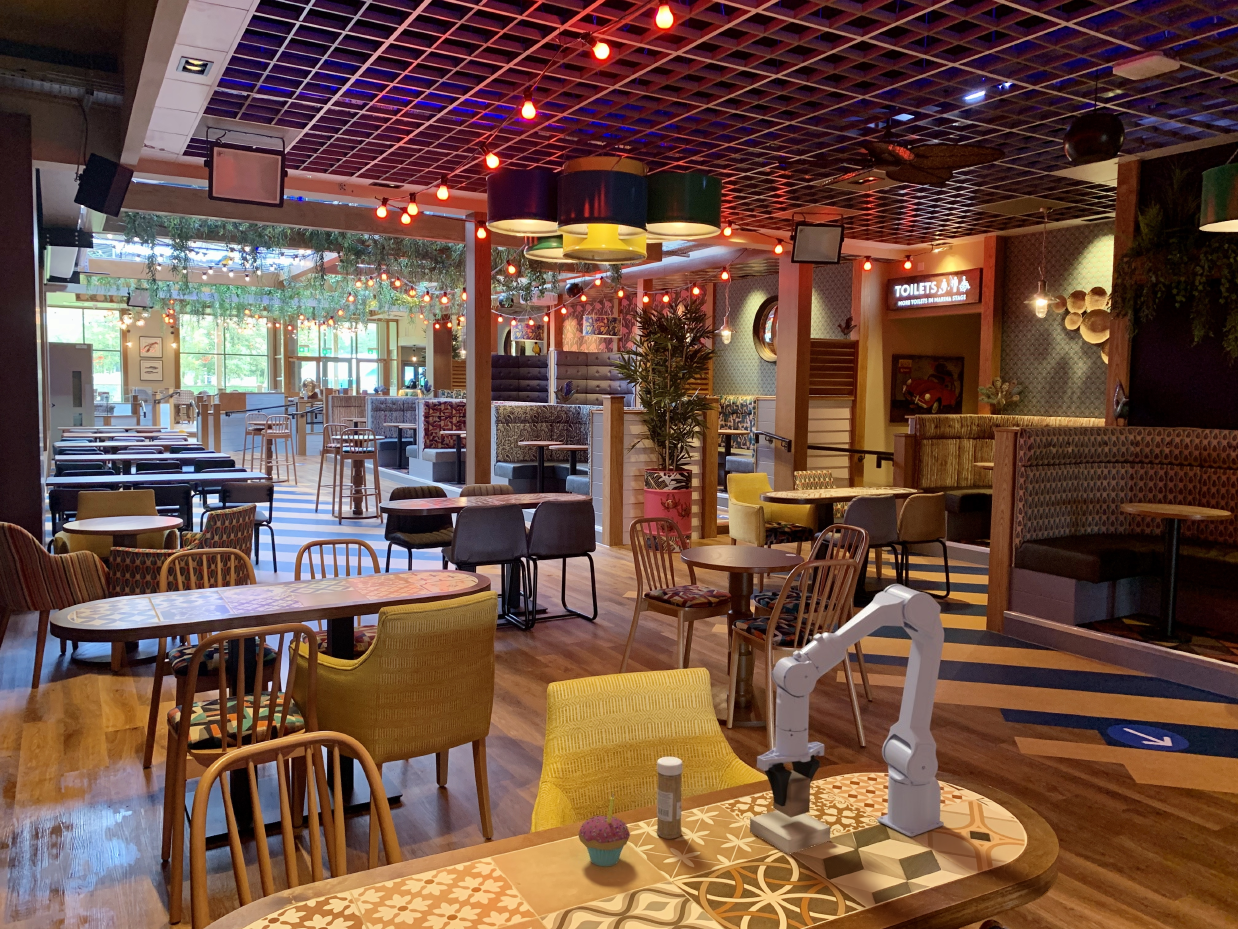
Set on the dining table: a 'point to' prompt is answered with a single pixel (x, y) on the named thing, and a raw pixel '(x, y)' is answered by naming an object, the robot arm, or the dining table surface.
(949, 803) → the dining table surface
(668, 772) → the sprinkles bottle
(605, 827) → the cupcake
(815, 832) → the birch block
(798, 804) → the walnut block
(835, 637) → the robot arm
